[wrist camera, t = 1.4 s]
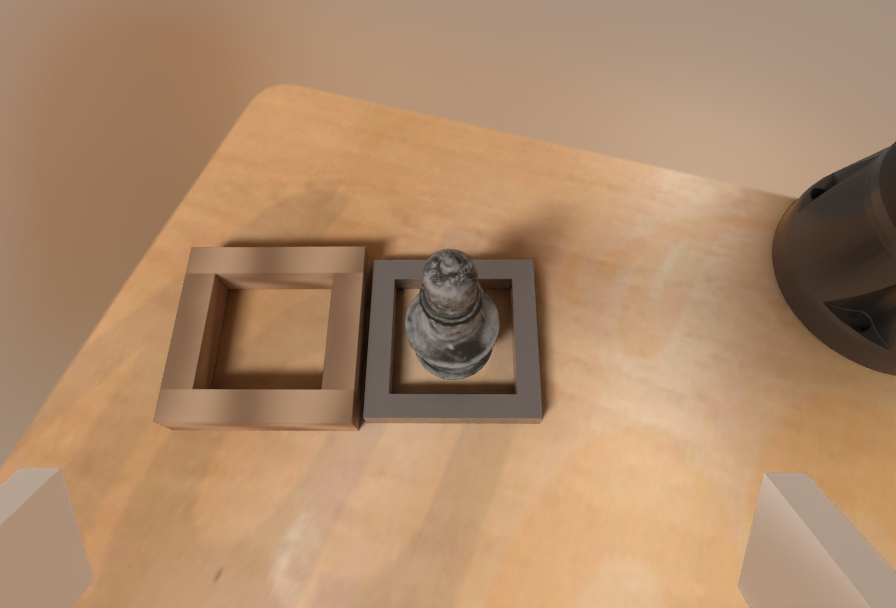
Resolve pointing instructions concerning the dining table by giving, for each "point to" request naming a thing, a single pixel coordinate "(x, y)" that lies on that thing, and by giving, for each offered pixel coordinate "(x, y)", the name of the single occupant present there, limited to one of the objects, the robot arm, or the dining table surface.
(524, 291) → the metal collar
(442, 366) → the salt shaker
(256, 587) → the dining table surface
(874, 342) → the robot arm
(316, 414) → the walnut holder block
